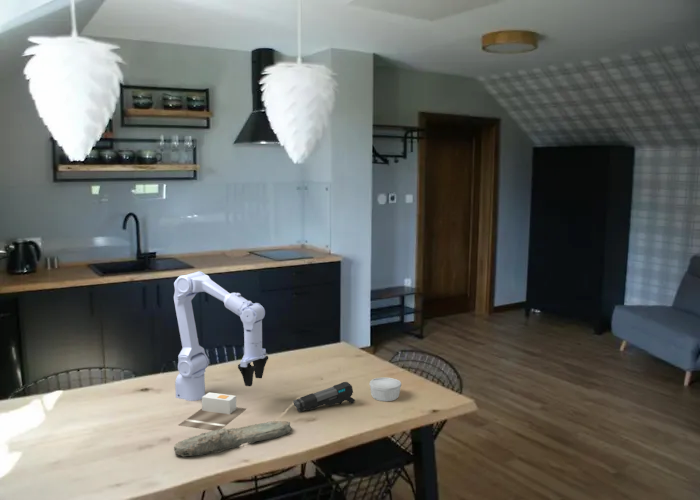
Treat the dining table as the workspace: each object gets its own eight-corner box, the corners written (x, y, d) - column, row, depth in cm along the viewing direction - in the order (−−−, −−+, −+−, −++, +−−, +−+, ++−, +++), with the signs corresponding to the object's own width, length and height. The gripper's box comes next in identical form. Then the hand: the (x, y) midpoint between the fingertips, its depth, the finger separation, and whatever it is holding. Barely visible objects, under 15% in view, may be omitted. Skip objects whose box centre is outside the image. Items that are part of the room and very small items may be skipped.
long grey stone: (297, 440, 179) (283, 430, 187) (297, 423, 179) (284, 413, 187) (179, 462, 161) (170, 449, 170) (179, 443, 161) (170, 431, 170)
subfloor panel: (178, 428, 183) (177, 424, 183) (208, 406, 201) (208, 403, 200) (218, 434, 179) (218, 431, 179) (246, 411, 196) (246, 408, 196)
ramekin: (391, 389, 217) (391, 375, 217) (407, 399, 207) (407, 385, 207) (363, 394, 213) (363, 379, 212) (378, 405, 203) (378, 390, 202)
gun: (358, 403, 203) (349, 377, 200) (306, 431, 197) (296, 405, 194) (353, 398, 207) (344, 373, 205) (301, 425, 201) (291, 400, 198)
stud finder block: (202, 410, 195) (201, 396, 194) (209, 405, 199) (209, 392, 198) (229, 414, 192) (229, 400, 191) (236, 409, 196) (236, 395, 195)
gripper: (254, 349, 186) (254, 390, 188) (273, 336, 200) (274, 375, 202) (234, 346, 188) (234, 388, 190) (254, 334, 202) (255, 373, 204)
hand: (253, 381), depth 196 cm, fingers open, 7 cm apart
